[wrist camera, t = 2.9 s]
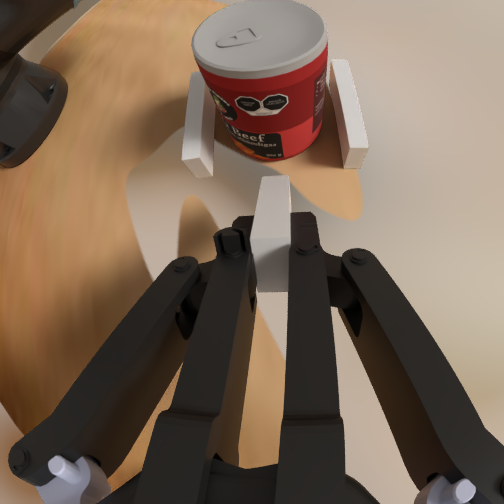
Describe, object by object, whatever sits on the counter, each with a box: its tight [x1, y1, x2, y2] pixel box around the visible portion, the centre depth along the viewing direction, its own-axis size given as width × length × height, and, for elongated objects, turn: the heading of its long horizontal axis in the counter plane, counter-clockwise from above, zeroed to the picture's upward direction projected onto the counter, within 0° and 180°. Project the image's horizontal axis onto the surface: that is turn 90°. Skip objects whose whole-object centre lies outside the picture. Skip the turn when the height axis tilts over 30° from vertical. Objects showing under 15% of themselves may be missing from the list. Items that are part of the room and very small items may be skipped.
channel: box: [182, 59, 369, 178], centre depth 22 cm, size 9×13×4 cm
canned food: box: [191, 0, 328, 161], centre depth 19 cm, size 8×8×11 cm
